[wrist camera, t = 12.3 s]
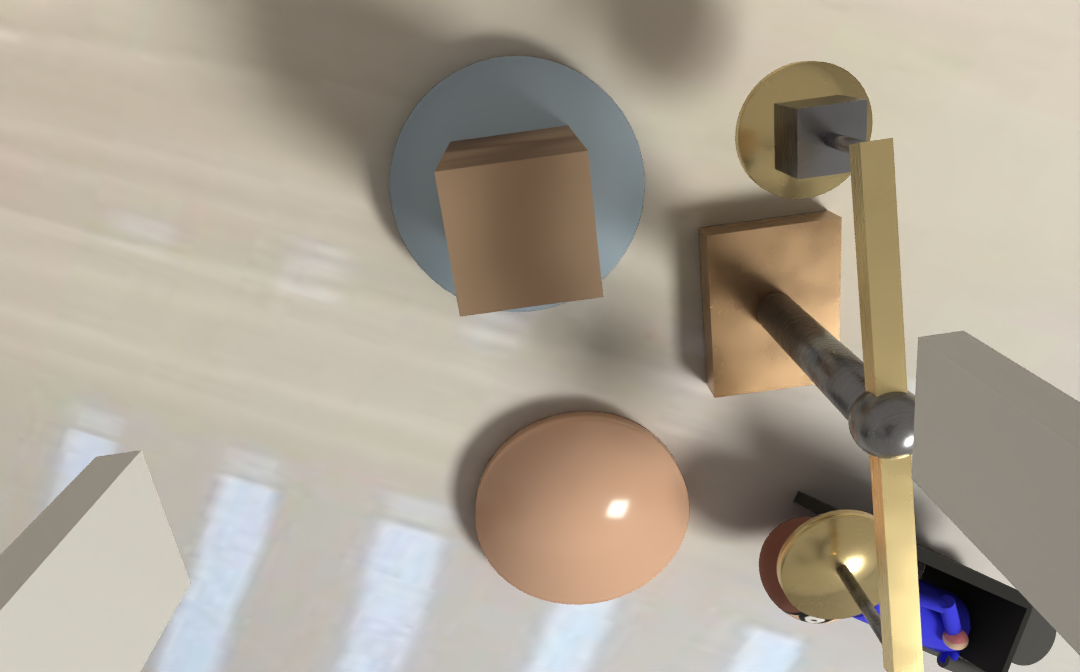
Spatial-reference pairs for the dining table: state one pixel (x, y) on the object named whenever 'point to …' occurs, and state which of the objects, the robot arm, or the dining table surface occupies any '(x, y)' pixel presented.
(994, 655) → the character figurine
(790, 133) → the balance
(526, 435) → the peach glossy dome
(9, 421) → the dining table surface
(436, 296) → the dining table surface
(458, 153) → the block
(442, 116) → the blue gray round dish
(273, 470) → the dining table surface
